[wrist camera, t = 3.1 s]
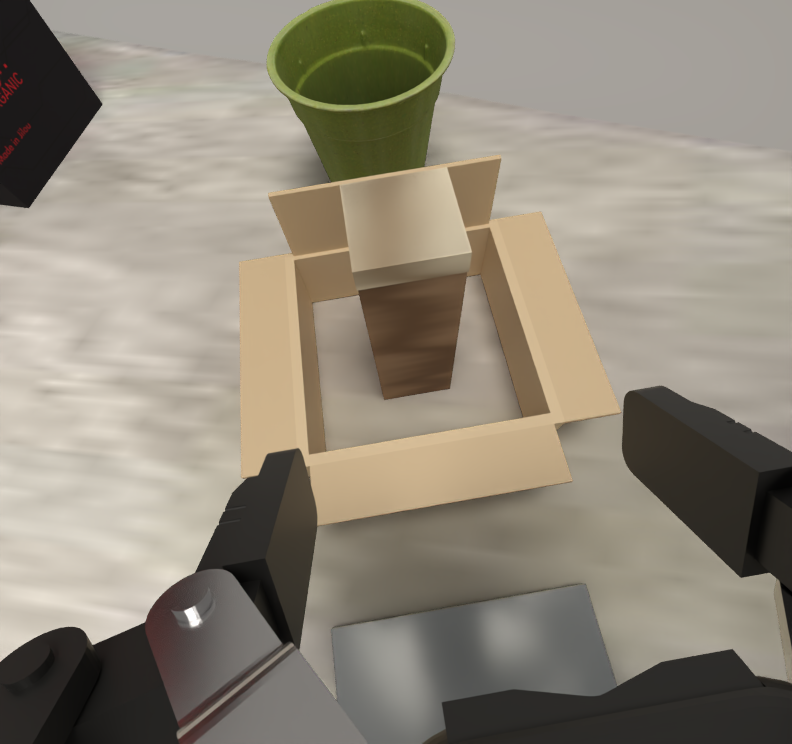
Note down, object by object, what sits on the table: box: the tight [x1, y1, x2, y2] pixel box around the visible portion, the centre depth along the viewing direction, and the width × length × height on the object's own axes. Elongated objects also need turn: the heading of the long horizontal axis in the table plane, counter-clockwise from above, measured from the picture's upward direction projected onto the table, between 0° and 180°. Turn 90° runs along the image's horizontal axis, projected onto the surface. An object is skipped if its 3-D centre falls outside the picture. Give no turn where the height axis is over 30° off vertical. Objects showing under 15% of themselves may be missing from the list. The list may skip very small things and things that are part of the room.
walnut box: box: [340, 167, 472, 400], centre depth 23 cm, size 5×5×14 cm
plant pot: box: [267, 0, 455, 183], centre depth 32 cm, size 12×12×11 cm
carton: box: [239, 155, 621, 526], centre depth 25 cm, size 20×17×10 cm
